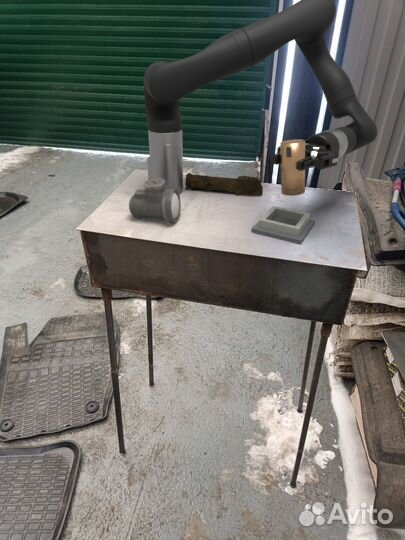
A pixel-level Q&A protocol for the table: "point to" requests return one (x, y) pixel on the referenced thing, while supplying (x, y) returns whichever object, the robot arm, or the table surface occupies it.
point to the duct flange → (284, 224)
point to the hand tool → (225, 184)
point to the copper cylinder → (292, 167)
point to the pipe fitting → (156, 201)
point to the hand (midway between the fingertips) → (287, 162)
